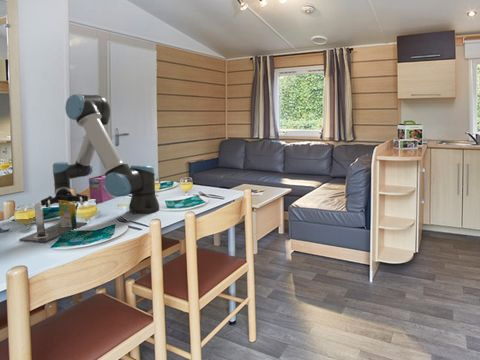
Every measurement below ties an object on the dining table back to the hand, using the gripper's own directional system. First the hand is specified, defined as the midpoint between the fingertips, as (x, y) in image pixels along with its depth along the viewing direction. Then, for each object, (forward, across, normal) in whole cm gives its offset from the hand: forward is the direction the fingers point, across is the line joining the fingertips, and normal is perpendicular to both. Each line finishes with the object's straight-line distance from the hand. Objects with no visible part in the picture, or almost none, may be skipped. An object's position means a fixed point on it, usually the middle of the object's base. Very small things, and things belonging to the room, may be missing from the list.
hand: (65, 204), depth 177 cm
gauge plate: (+14, +5, -9) cm, 17 cm away
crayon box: (+10, 0, -8) cm, 13 cm away
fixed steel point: (+20, +10, -9) cm, 24 cm away
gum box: (-45, -24, -9) cm, 52 cm away
